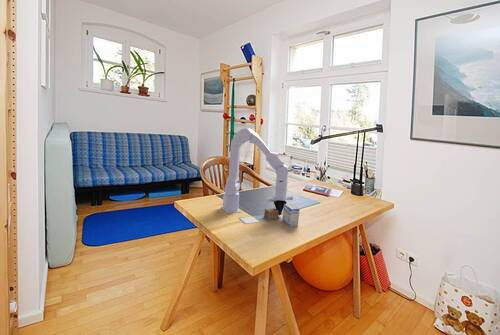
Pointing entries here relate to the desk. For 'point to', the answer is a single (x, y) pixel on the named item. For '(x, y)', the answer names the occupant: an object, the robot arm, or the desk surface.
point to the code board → (256, 219)
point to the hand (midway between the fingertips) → (278, 214)
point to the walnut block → (271, 213)
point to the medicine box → (290, 215)
